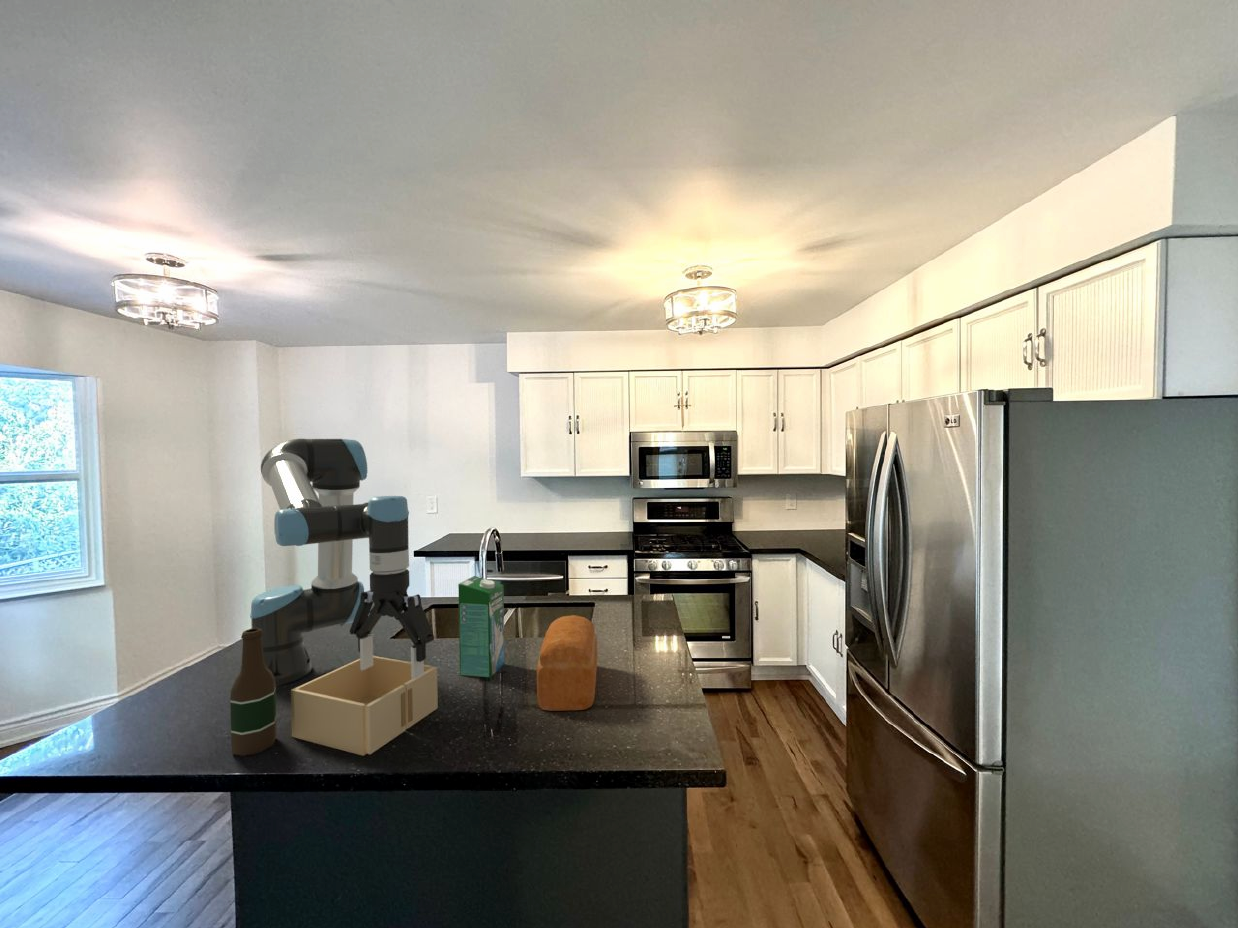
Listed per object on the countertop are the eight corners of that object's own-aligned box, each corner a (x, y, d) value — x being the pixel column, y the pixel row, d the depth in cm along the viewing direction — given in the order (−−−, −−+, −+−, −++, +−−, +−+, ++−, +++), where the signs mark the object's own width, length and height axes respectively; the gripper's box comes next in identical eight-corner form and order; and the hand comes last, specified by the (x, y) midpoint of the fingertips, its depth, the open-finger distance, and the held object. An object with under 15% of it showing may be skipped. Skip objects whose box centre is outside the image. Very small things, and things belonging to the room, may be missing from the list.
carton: (291, 736, 107) (290, 690, 107) (368, 694, 126) (367, 654, 126) (363, 755, 100) (362, 705, 100) (433, 707, 119) (432, 665, 119)
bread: (598, 664, 143) (597, 609, 143) (594, 711, 117) (593, 643, 116) (549, 665, 143) (548, 609, 143) (534, 712, 117) (534, 644, 116)
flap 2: (404, 727, 110) (403, 683, 109) (434, 707, 118) (433, 666, 118) (408, 728, 109) (407, 684, 109) (438, 708, 118) (437, 667, 118)
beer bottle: (247, 736, 107) (244, 624, 107) (285, 734, 108) (283, 623, 108) (221, 758, 100) (218, 637, 99) (263, 756, 100) (260, 636, 100)
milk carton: (490, 677, 135) (489, 584, 134) (459, 675, 137) (458, 583, 136) (504, 663, 144) (503, 576, 143) (475, 661, 146) (474, 575, 145)
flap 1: (366, 753, 100) (365, 705, 100) (402, 729, 109) (401, 685, 109) (371, 754, 100) (370, 706, 100) (406, 730, 109) (405, 685, 108)
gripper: (329, 570, 106) (331, 670, 106) (424, 578, 97) (427, 688, 98) (359, 563, 113) (361, 657, 113) (450, 570, 104) (452, 672, 105)
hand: (391, 671), depth 105 cm, fingers open, 13 cm apart
